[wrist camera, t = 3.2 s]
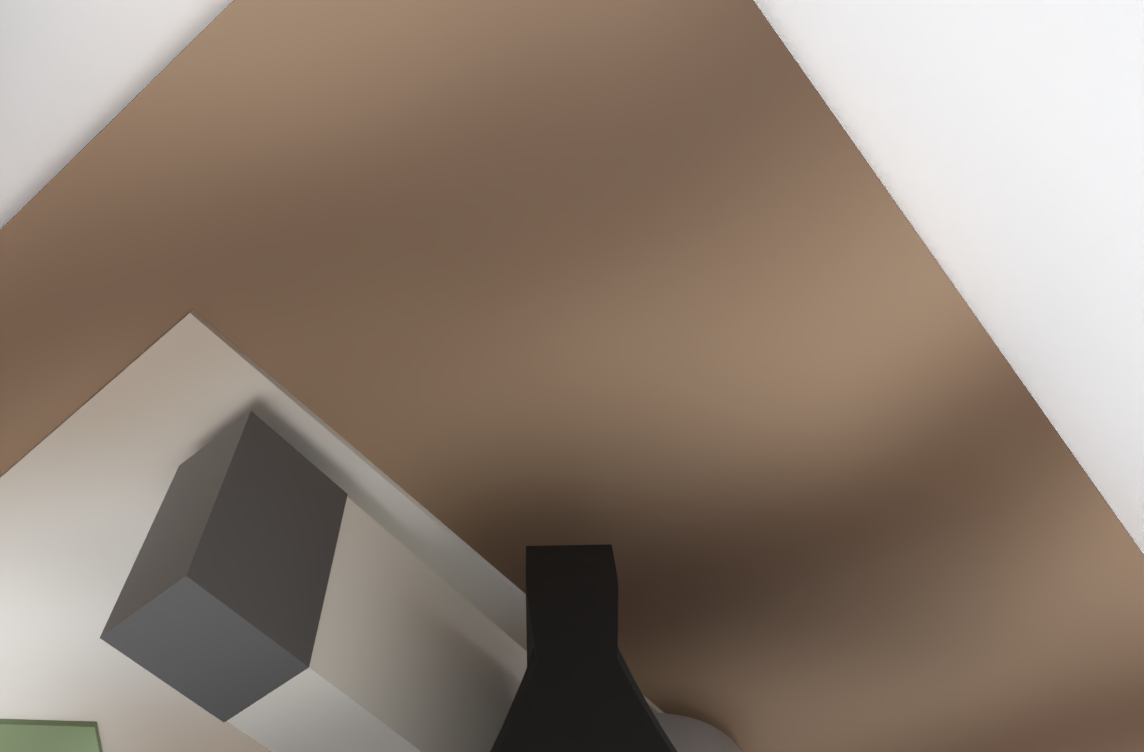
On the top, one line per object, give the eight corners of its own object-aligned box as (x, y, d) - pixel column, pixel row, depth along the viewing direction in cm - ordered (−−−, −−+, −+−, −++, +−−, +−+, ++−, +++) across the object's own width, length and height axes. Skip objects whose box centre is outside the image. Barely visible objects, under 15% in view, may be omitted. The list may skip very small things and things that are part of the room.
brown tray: (1222, 670, 18) (1271, 736, 17) (461, 1048, 23) (457, 1120, 22) (538, -299, 10) (540, -304, 9) (-366, 591, 16) (-438, 662, 14)
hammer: (786, 789, 17) (837, 994, 14) (625, 871, 18) (644, 1078, 15) (314, 352, 12) (258, 529, 10) (131, 493, 13) (31, 690, 11)
